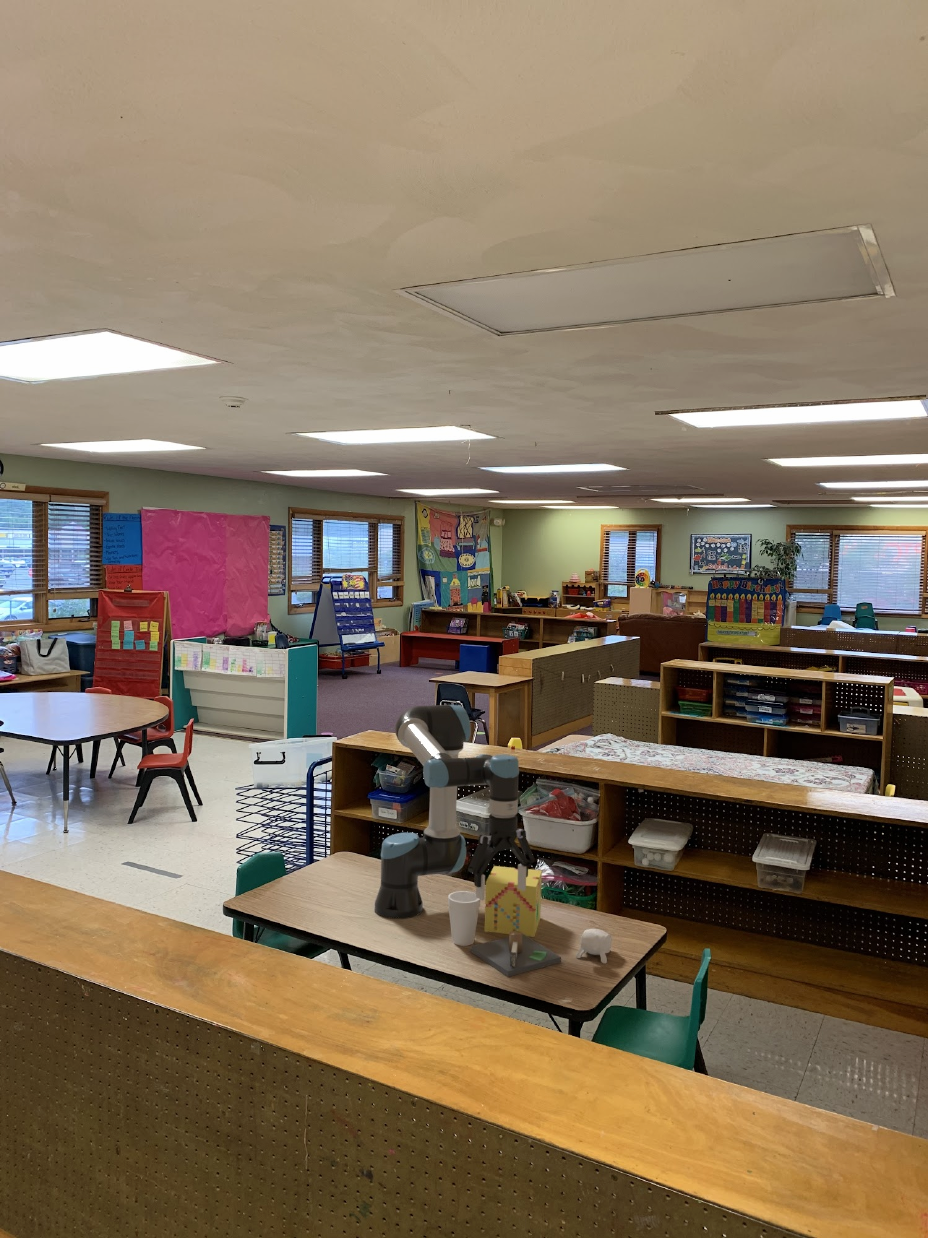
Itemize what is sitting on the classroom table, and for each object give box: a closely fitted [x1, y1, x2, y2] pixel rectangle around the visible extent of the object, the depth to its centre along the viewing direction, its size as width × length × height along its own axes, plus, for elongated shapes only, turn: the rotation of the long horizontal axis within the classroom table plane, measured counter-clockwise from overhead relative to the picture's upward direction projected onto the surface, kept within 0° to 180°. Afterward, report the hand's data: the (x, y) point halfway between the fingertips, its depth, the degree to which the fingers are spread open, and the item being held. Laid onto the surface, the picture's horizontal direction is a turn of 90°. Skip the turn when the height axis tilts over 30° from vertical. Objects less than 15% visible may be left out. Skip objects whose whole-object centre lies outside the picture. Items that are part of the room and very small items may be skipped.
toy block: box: [484, 865, 543, 938], centre depth 262 cm, size 15×15×15 cm
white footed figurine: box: [575, 928, 612, 965], centre depth 240 cm, size 9×8×15 cm
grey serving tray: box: [470, 934, 562, 978], centre depth 239 cm, size 18×18×2 cm
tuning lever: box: [508, 931, 522, 967], centre depth 234 cm, size 12×4×5 cm, turn 173°
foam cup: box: [447, 890, 481, 947], centre depth 248 cm, size 10×9×13 cm
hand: (501, 894), depth 228 cm, fingers open, 13 cm apart
